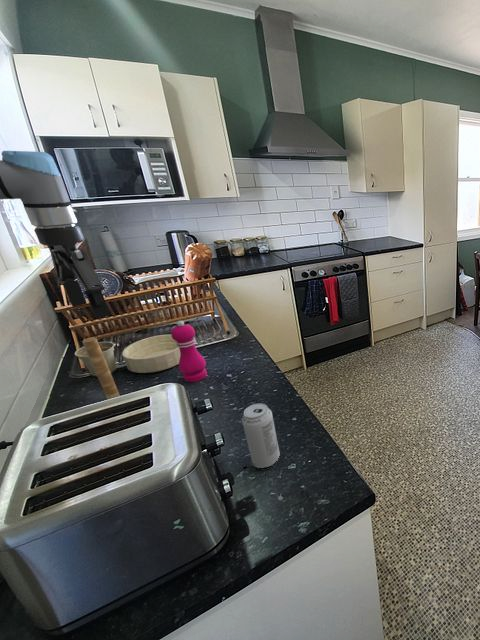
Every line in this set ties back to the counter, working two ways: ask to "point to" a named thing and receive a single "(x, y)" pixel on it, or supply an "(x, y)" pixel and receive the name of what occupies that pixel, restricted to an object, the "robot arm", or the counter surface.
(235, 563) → the counter surface
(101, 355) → the stick
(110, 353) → the flower pot
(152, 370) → the bowl
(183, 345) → the pepper mill
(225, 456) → the counter surface
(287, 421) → the counter surface
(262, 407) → the energy drink can
